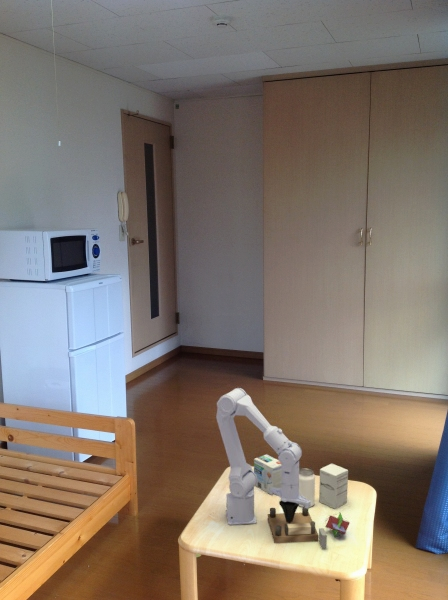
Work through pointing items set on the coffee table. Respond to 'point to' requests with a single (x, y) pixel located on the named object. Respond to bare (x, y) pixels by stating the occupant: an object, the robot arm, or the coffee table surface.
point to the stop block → (322, 538)
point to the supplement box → (333, 486)
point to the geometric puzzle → (337, 524)
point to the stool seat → (279, 522)
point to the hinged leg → (300, 528)
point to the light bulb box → (267, 472)
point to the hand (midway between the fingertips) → (289, 521)
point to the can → (307, 485)
